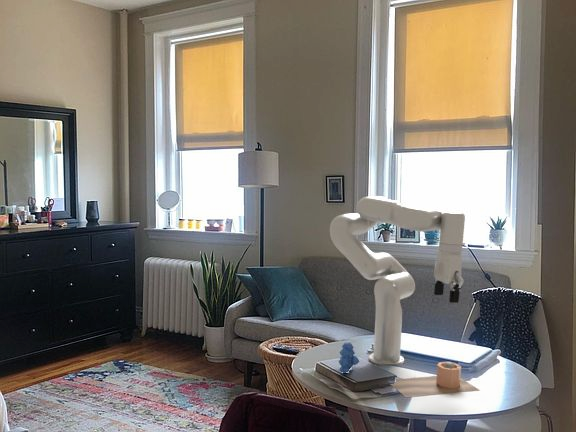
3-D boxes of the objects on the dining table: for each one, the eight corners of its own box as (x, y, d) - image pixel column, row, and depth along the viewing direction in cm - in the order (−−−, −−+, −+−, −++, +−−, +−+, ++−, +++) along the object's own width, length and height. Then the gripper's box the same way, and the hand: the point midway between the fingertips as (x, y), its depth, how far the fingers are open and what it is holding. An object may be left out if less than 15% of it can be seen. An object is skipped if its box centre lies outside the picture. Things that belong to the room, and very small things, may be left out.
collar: (432, 380, 192) (433, 362, 191) (451, 378, 194) (452, 361, 193) (444, 388, 185) (445, 370, 184) (463, 386, 187) (464, 368, 187)
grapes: (354, 384, 190) (355, 348, 189) (334, 381, 192) (335, 345, 191) (362, 372, 201) (364, 338, 200) (343, 369, 203) (345, 336, 202)
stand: (385, 384, 191) (386, 360, 190) (454, 378, 198) (456, 354, 198) (406, 402, 177) (407, 375, 177) (479, 394, 185) (481, 369, 184)
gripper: (427, 243, 202) (423, 292, 204) (454, 253, 186) (449, 305, 188) (446, 244, 204) (442, 291, 206) (475, 253, 188) (470, 305, 190)
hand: (446, 298), depth 197 cm, fingers open, 9 cm apart
